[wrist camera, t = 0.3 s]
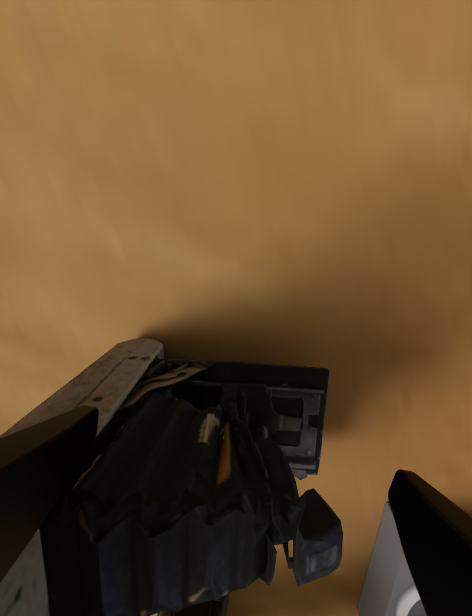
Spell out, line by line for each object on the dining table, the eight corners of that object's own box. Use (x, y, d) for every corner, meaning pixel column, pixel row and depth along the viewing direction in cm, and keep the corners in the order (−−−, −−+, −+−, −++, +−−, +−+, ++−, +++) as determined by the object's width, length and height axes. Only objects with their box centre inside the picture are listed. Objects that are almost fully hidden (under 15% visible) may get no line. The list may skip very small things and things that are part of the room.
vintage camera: (305, 448, 25) (519, 1095, 6) (127, 441, 26) (-235, 1050, 6) (315, 340, 24) (670, 765, 4) (123, 333, 24) (-416, 712, 4)
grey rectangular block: (442, 622, 28) (477, 691, 23) (357, 608, 28) (376, 673, 24) (480, 516, 25) (526, 571, 21) (386, 501, 25) (413, 553, 21)
